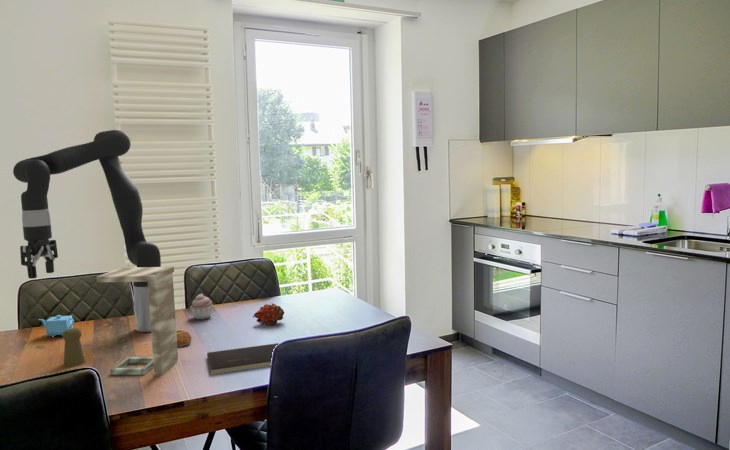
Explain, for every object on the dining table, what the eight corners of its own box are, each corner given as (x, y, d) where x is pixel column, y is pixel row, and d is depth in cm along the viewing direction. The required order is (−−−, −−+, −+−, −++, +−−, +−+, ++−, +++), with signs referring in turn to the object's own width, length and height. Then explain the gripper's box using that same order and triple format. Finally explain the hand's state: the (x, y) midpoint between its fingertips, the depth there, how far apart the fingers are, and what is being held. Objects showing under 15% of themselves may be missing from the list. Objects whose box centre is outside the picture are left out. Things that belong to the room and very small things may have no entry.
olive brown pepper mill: (75, 367, 169) (72, 332, 168) (59, 366, 171) (55, 331, 169) (89, 360, 175) (86, 326, 174) (72, 359, 176) (70, 326, 175)
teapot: (36, 339, 199) (34, 319, 198) (42, 334, 205) (41, 314, 204) (72, 336, 201) (70, 316, 200) (77, 331, 207) (75, 312, 206)
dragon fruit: (287, 327, 211) (256, 333, 210) (285, 310, 217) (255, 316, 216) (284, 313, 205) (252, 320, 204) (281, 296, 211) (250, 302, 210)
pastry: (195, 345, 188) (194, 334, 187) (175, 349, 184) (174, 338, 184) (188, 338, 196) (187, 328, 195) (168, 342, 192) (167, 331, 192)
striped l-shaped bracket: (104, 377, 160) (96, 276, 157) (127, 360, 174) (120, 267, 171) (161, 376, 159) (154, 276, 156) (179, 359, 173) (173, 266, 170)
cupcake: (219, 316, 223) (218, 292, 222) (201, 322, 216) (199, 297, 214) (203, 313, 228) (202, 289, 227) (185, 318, 221) (184, 294, 219)
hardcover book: (288, 365, 168) (288, 357, 168) (211, 376, 160) (210, 368, 160) (278, 349, 183) (278, 342, 183) (207, 358, 175) (207, 352, 175)
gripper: (33, 226, 163) (38, 280, 164) (62, 221, 177) (66, 270, 178) (9, 227, 163) (14, 280, 165) (40, 222, 177) (44, 271, 179)
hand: (41, 275), depth 172 cm, fingers open, 8 cm apart
